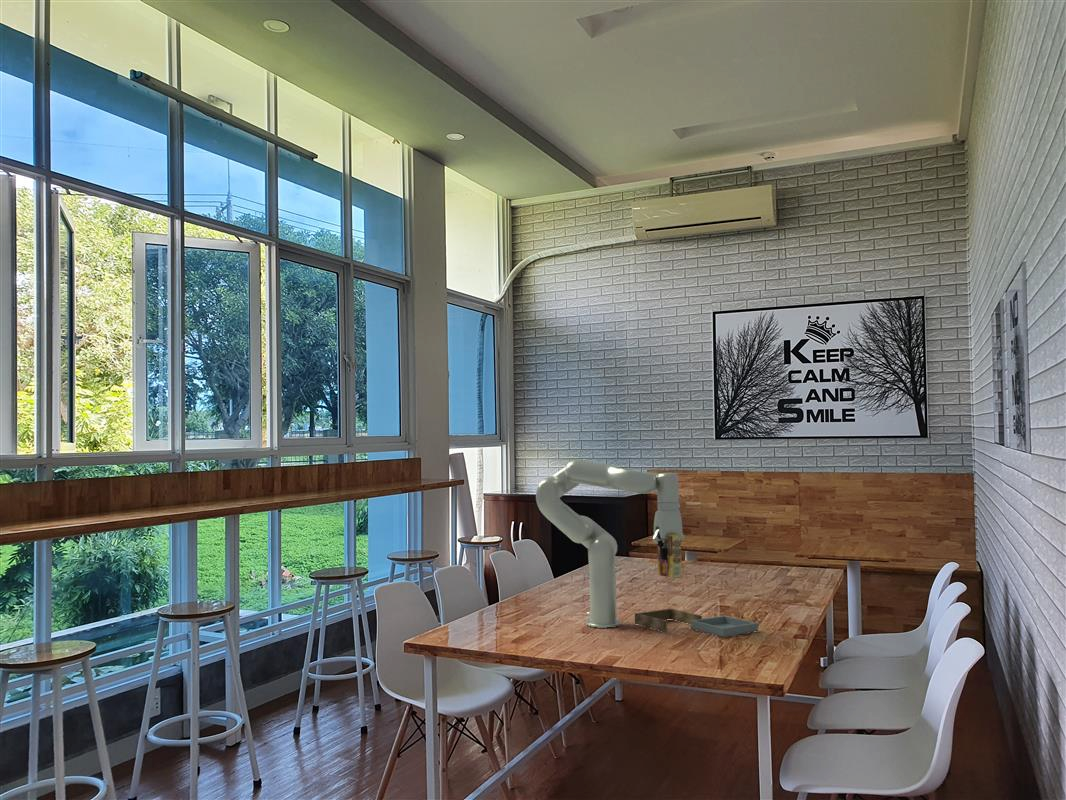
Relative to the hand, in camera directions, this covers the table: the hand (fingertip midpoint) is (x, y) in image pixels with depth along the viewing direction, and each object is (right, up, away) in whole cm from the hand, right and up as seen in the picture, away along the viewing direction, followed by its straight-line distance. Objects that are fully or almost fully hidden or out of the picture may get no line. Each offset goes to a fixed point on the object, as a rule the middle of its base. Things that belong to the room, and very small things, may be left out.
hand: (669, 558), depth 291 cm
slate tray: (+18, -23, -9) cm, 30 cm away
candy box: (0, -7, 0) cm, 7 cm away
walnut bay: (0, -24, 0) cm, 24 cm away
